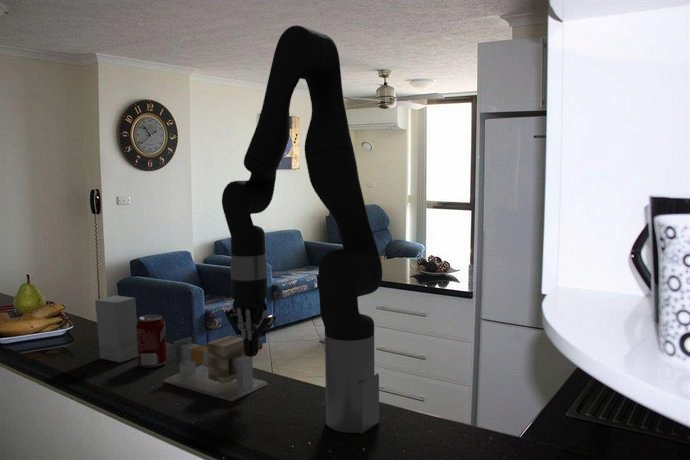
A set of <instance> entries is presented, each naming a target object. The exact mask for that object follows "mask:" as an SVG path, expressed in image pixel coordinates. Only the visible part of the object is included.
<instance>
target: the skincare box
mask: <svg viewBox="0 0 690 460" xmlns="http://www.w3.org/2000/svg"><path fill="white" fill-rule="evenodd" d="M94 302H95V304H94V305H95V312H96V314H95V315H96V322H97V334H98V335H97V336H98V345H99V356H100V359H102V360H107V361H110V362H111V361H112V362H115V363H119V364H120V363H123V362H127V361H130V360H132V358H133V359H135V358H138V352H137V331H136V325H137V323H138V317H137V305H136V297H131V296H130V297H129V296H122V295H116V294H115V295H112V296H107V297H105V298H104V297H103V298H100V299H96V300H94Z"/></svg>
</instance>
